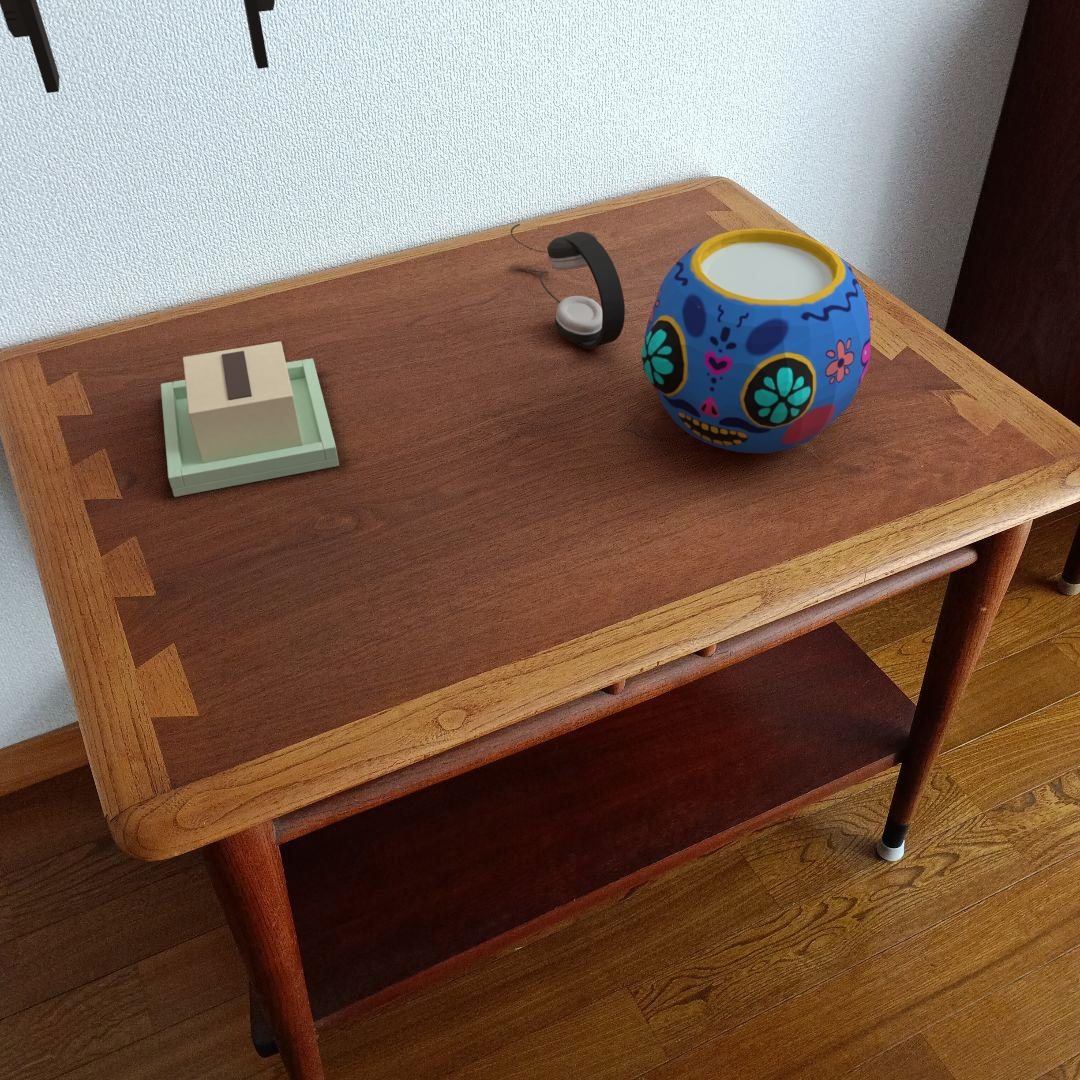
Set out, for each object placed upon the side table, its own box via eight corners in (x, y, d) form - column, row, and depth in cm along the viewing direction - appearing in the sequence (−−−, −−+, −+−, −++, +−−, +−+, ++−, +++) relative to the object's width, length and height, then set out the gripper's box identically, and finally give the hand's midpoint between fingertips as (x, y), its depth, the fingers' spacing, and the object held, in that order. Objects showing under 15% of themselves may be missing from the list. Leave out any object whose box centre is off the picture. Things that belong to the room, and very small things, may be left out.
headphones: (536, 290, 114) (639, 354, 98) (498, 302, 112) (597, 368, 97) (525, 194, 108) (632, 246, 93) (485, 205, 107) (587, 259, 91)
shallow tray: (316, 376, 98) (312, 357, 97) (339, 466, 89) (335, 446, 88) (166, 402, 96) (160, 383, 94) (174, 497, 87) (168, 477, 85)
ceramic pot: (601, 449, 91) (607, 288, 80) (692, 343, 102) (708, 189, 91) (804, 521, 84) (839, 355, 74) (878, 400, 95) (918, 241, 85)
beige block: (290, 389, 96) (280, 339, 92) (303, 445, 90) (292, 393, 86) (196, 406, 94) (182, 355, 90) (202, 463, 88) (188, 411, 85)
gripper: (285, -343, 65) (334, 33, 80) (-177, -324, 60) (-34, 74, 75) (302, -329, 60) (352, 71, 74) (-203, -307, 55) (-43, 117, 69)
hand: (159, 73), depth 75 cm, fingers open, 13 cm apart
